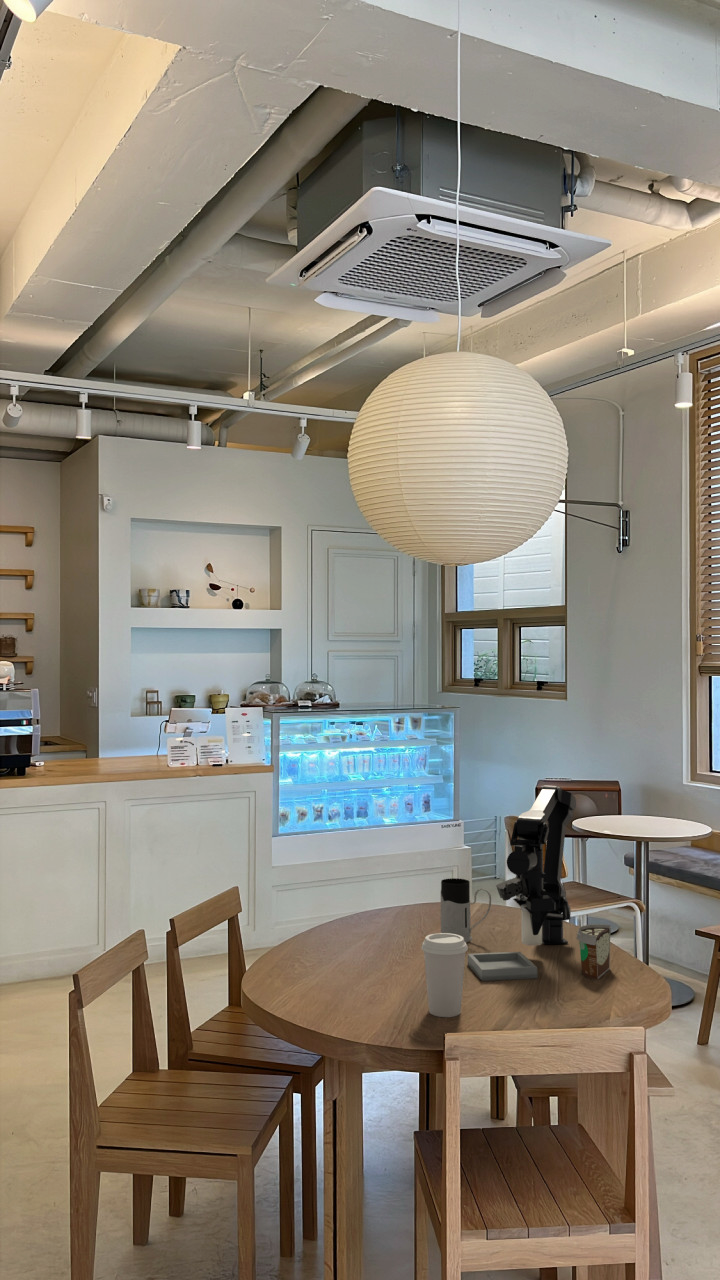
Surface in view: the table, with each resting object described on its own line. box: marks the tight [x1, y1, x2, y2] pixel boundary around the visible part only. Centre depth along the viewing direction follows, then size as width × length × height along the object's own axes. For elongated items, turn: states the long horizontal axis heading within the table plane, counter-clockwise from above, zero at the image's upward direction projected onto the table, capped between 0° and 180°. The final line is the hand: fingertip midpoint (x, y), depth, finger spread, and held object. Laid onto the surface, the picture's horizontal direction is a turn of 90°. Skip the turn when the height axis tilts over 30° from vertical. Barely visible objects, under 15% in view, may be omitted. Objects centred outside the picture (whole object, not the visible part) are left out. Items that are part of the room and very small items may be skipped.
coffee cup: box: [421, 932, 469, 1018], centre depth 200 cm, size 10×10×15 cm
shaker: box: [520, 904, 543, 946], centre depth 238 cm, size 5×5×9 cm
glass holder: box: [440, 878, 492, 943], centre depth 255 cm, size 9×14×15 cm, turn 64°
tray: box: [467, 951, 538, 982], centre depth 227 cm, size 13×13×2 cm
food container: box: [576, 923, 612, 980], centre depth 227 cm, size 12×6×10 cm, turn 149°
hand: (531, 932), depth 238 cm, fingers closed on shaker, 5 cm apart
